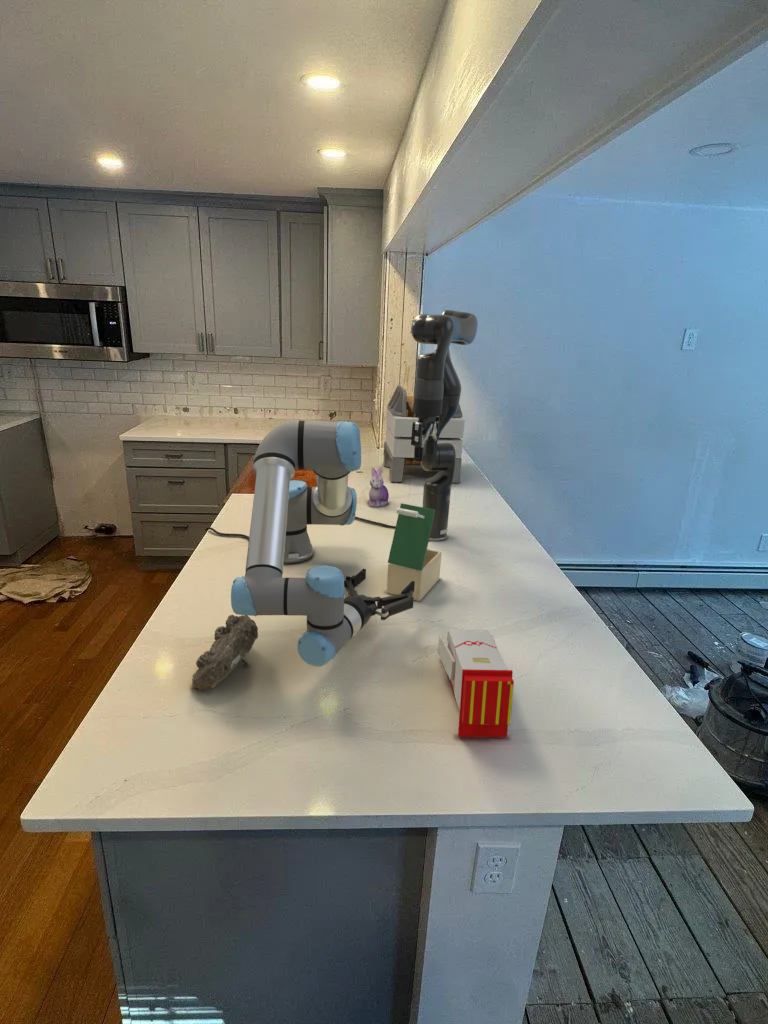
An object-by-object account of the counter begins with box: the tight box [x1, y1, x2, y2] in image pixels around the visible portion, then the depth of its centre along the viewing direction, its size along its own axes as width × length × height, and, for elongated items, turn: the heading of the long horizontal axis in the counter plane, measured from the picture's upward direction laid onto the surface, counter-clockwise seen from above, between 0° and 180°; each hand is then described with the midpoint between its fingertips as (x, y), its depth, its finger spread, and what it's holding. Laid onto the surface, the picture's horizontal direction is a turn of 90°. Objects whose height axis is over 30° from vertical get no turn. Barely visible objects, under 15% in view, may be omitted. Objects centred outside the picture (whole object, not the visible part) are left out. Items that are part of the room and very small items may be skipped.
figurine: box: [367, 466, 390, 507], centre depth 227 cm, size 9×10×15 cm
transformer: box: [383, 384, 465, 484], centre depth 268 cm, size 34×33×41 cm
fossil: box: [191, 614, 259, 691], centre depth 123 cm, size 22×10×15 cm
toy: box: [437, 628, 515, 738], centre depth 117 cm, size 12×13×30 cm
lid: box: [387, 503, 435, 571], centre depth 150 cm, size 17×10×8 cm
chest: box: [386, 548, 442, 602], centre depth 162 cm, size 16×10×9 cm, turn 155°
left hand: (388, 579), depth 144 cm, fingers open, 13 cm apart
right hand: (424, 457), depth 152 cm, fingers open, 8 cm apart
